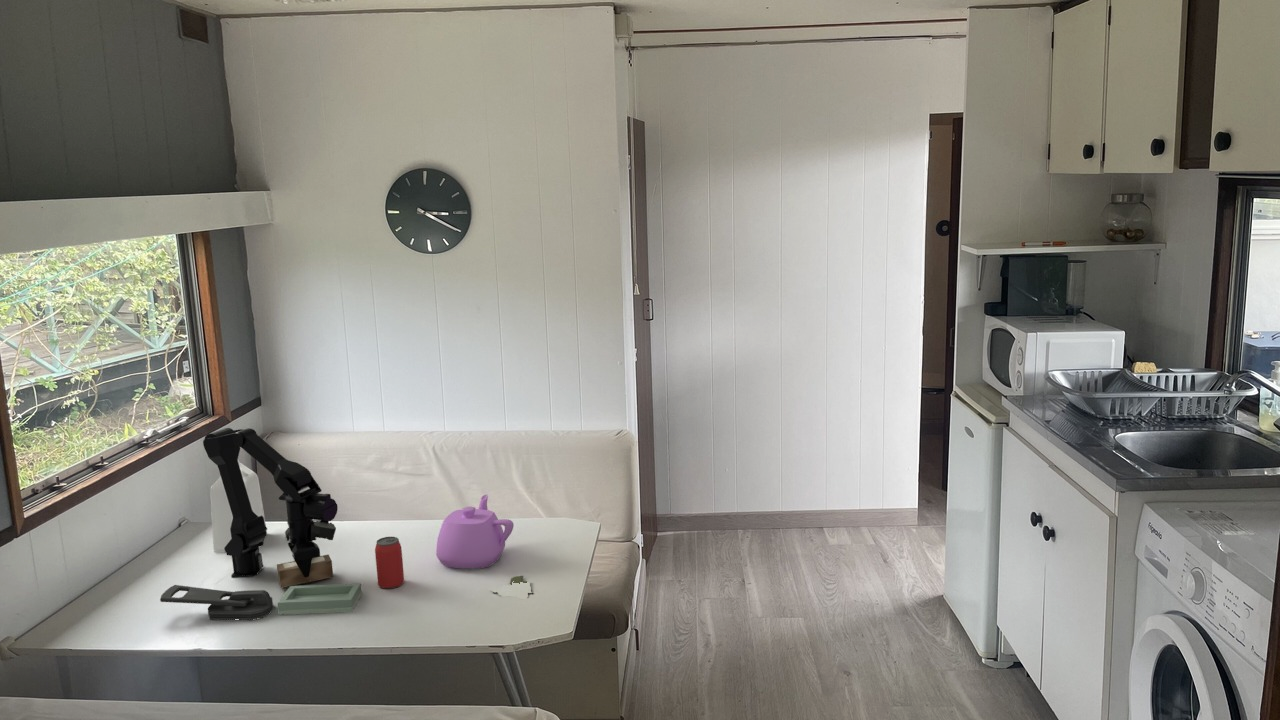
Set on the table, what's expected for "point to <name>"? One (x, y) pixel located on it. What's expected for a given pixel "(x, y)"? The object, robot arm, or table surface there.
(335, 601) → the cradle
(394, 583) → the beer can
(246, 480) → the milk
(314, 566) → the brown two-tone block
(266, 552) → the table surface
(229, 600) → the zipper pull
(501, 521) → the teapot
